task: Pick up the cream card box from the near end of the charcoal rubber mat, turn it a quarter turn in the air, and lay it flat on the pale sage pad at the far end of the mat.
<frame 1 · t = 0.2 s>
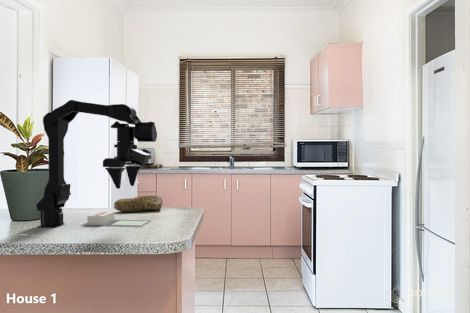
hand: (125, 187, 132), 14 cm above the countertop, tool pointing down, fingers open, 9 cm apart
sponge: (138, 211, 168), on the countertop
card box: (101, 222, 140), resting on mat
mat: (117, 224, 139), on the countertop
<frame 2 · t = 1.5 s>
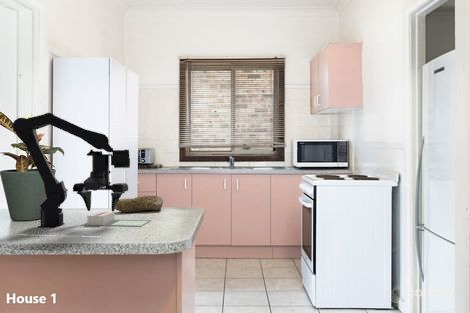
hand: (100, 211, 140), 5 cm above the countertop, tool pointing down, fingers open, 9 cm apart
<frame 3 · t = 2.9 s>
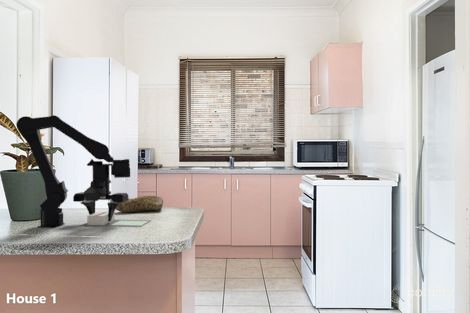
hand: (101, 220, 140), 1 cm above the countertop, tool pointing down, fingers closed on card box, 6 cm apart
card box: (101, 222, 140), resting on mat, touching gripper
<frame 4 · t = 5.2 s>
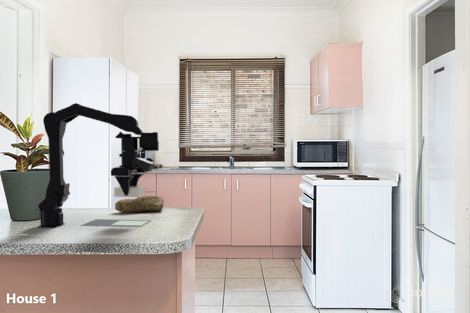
hand: (129, 194, 138), 11 cm above the countertop, tool pointing down, fingers closed on card box, 6 cm apart
card box: (129, 195, 138), point 10 cm above the countertop, touching gripper
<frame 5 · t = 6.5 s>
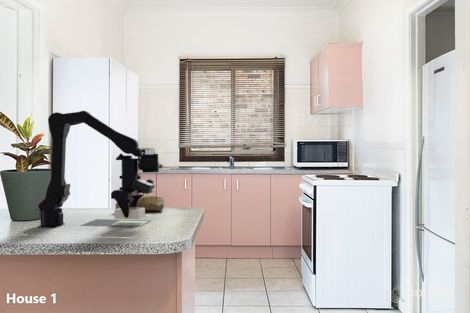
hand: (130, 215, 138), 3 cm above the countertop, tool pointing down, fingers closed on card box, 6 cm apart
card box: (130, 217, 138), point 2 cm above the countertop, touching gripper
when the fingers open (2 cm above the countertop, at t = 7.5 s): card box drops 1 cm, resting on mat.
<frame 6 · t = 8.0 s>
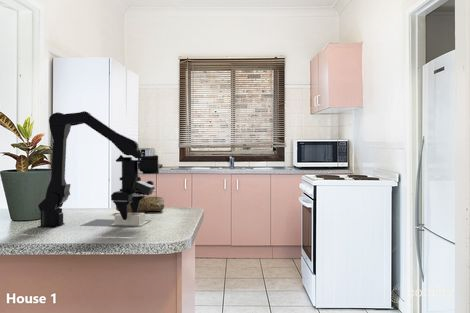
hand: (130, 217, 138), 2 cm above the countertop, tool pointing down, fingers open, 9 cm apart
card box: (130, 223, 138), resting on mat
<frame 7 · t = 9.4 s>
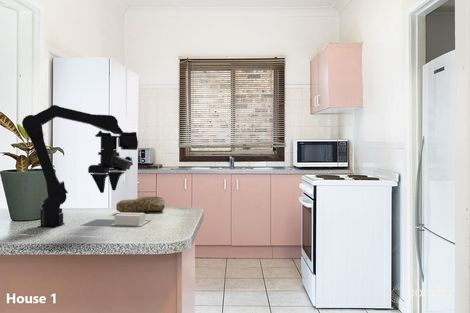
hand: (108, 191, 143), 11 cm above the countertop, tool pointing down, fingers open, 9 cm apart
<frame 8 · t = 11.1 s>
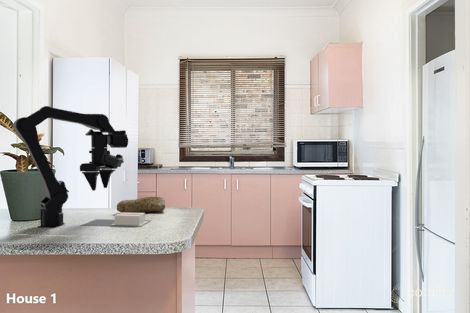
hand: (99, 189, 145), 12 cm above the countertop, tool pointing down, fingers open, 9 cm apart
at the end: card box 0.1 cm from the target spot, point 0.5 cm above the countertop; card box tilted 0°; the gripper is holding nothing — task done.
